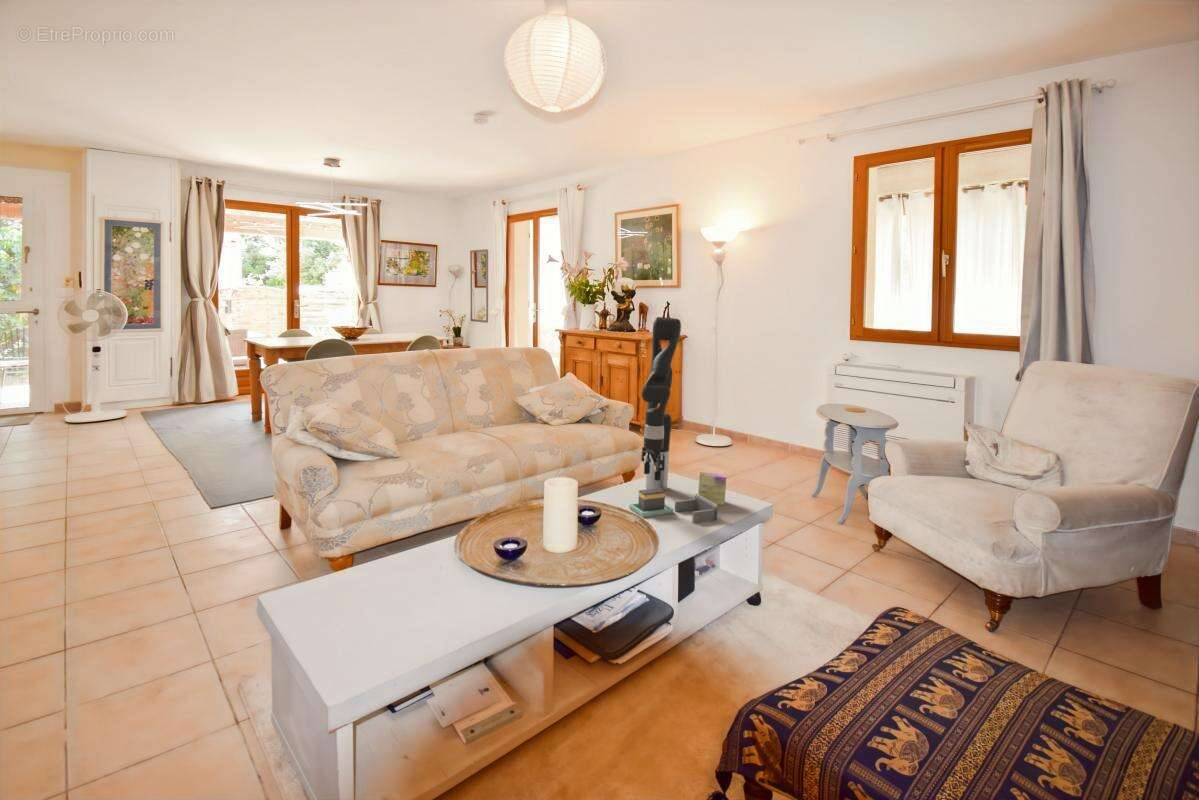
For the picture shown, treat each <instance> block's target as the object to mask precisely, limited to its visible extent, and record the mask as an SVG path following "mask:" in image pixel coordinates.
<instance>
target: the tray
mask: <svg viewBox="0 0 1199 800" xmlns="http://www.w3.org/2000/svg"><path fill="white" fill-rule="evenodd" d="M638 505H639V502H634V503H629V509H630V510H631V511H632V512H634V513H635V514H636V515H638V516H639V517H641V518H648V517H654V516H664V515H670V514H674V512H675V508H673V507H671V506H670V505H668V504H666V503H665V505H664V509H662V510H655V511H647V512H643V511H641V510H640V509H638Z"/></svg>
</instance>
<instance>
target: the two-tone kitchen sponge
mask: <svg viewBox="0 0 1199 800" xmlns="http://www.w3.org/2000/svg"><path fill="white" fill-rule="evenodd" d="M665 499H666V490H662V489H660V488H655V489H647V488H646V489H639V490H638V503H639V505H638V509H640V510H641V511H643V512H647V511H655V510H662V509H664V505H665V504H666V501H665Z"/></svg>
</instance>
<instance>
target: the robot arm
mask: <svg viewBox="0 0 1199 800" xmlns="http://www.w3.org/2000/svg"><path fill="white" fill-rule="evenodd" d="M681 331H682V325H681V320H680V319H679V318H673V317H663V316H657V317H655V318H654V321H653V324H652V345H651V346H652V352H651V365H650V372H649V373H650V374H649V377H648V379H647V380H646V382H645V384H644V385H643V388H642V390H641V398H642V400H643V401H644V402H646V403H647V409H646V411H645V423H644V431H643V432H644V433H643V446H642V447H641V458H640V459H641V463H643V465H644V466H643V474H644V475H645V487H646V489H655V488H660V489H662V490H664V491H666V490H668V482H669V481H668V480H669V479H668V478H669V462H670V442H671V441H670V439H671V432H672V431H671V430H672V417H671V416H672V415H670V413H666V408H667V405H668V403H669V399H670V397H671V388H672V383H673V382H672V381H673V368H672V367H671V365H672V360H673V358H674V356H675V352H676V350H677V347H678V343H679V340H680V337H681ZM661 341H665V342H666V341H667V342H668V344H667V345H666V346H665V347H664V348H663V347H662V342H661Z"/></svg>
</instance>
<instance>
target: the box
mask: <svg viewBox="0 0 1199 800" xmlns="http://www.w3.org/2000/svg"><path fill="white" fill-rule="evenodd" d="M726 487H727V476H726V474H725V473H716V472H704V471H703V472H702V471H700V472H699V479H698V492H697V494H698V495H700V496H702V497H704V498H705V499H707V500H709V501H711V502H713V503H715V504H717V505H718V506H725V505H726V503H725V502H726V491H727V490H726V489H727V488H726Z"/></svg>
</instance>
